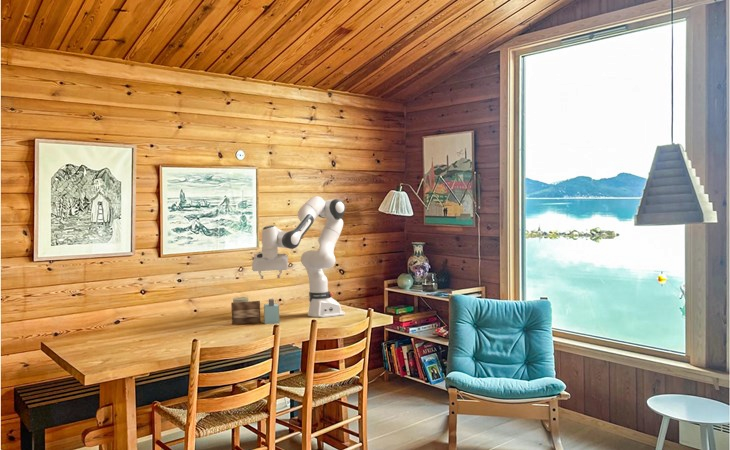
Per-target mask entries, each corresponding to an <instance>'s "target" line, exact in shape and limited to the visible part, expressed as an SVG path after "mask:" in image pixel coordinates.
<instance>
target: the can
mask: <svg viewBox="0 0 730 450" xmlns="http://www.w3.org/2000/svg"><path fill="white" fill-rule="evenodd" d="M248 301H249V297H247V296H246V297H243V296H241V297H234V298H232V303H233V302H248Z"/></svg>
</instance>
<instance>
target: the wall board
mask: <svg viewBox="0 0 730 450" xmlns="http://www.w3.org/2000/svg"><path fill="white" fill-rule="evenodd" d="M230 309H231V324H232V325H236V324H237V325H239V324H250V323H261V300H251V301H249V300H248V302H233V301H232V302H231V308H230Z"/></svg>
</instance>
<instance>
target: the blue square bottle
mask: <svg viewBox="0 0 730 450" xmlns="http://www.w3.org/2000/svg"><path fill="white" fill-rule="evenodd" d="M263 314H264V316H263V320H264V321H263V322H264V325H272V324H280V305H279V304H278V303H275V300H274V298H268V303H265V304H263Z"/></svg>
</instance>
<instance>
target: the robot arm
mask: <svg viewBox="0 0 730 450" xmlns="http://www.w3.org/2000/svg"><path fill="white" fill-rule="evenodd" d="M345 212H346V205H345V203H344V201H343V200H341V199H337V198H335V199H328V200H324V199H323V197H321V196H318V195H315V196H313V197H311V198H310V199H308V200H307V201H305V203H304V204H303V205H302V206H300V208H299V209H298V210H297V217H298V220H299V221H300V222H299V223H298V224H297V226H296V227H295V228H294V229H292V230H288V231H287V230H282V229H279V228H278V227H276V225H266V226H264V227H263V228H262V230H261V244H262V246H261V251H259V252H256V253H254V255H253V260H252V262H251V263H252V264H251V270H252V271H253V272H258V274H259V276H260V280H264V275H262V272H265V271H266V272H269V271H271V272H272V271H278V272H279V273H278V274H277V275H276V278H277V279H280V278H281V274H282V273H283V271H287V270H288V269H289V263H288V261H289V256H288V254H286V253H279V252H278V248H284V249H290V250H293V249H296V248H297V247H298V246H299V245H300V243H301V241H302V239H303V237H304V235H306V233H307V232H308V231H309V229H310V228H311V227H312V226H313V224H314V221H315V220H316V219H317V218H322V219H326V222H325V224H324V226H323V228H322V230H321V233H320V234H319V237H318V239H317V241H318V243H319V247H318V250H307V251H304V252H303V253H302V254H301V257H300V262H301V265H302V266H303V267H304V268H305V270H306V273H307V277H308V281H309V283H308V284H309V291H308V301H309V305H308V306H309V307H308V310H307V311H308V312H307V316H308V317H314V318H328V317H329V318H330V317H340V316H345V315H346V312H345V310H342V306H341V304H340V302H338V301H337V300H336V299H334V298H333V296H334V293H333V292H330V291H329V285H328V284H329V281H328V278H327V276H326V275H325V273H324V270H329V269H333V267H334V266H335V264H336V262H337V261H336V256H335V253H334V252H335V247H336V245H337V242H338V240H339V237H340V236H341V234H342V232H343V231H342V230H343V227H344V220H343V218H344V216H345V215H344V214H345Z"/></svg>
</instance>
